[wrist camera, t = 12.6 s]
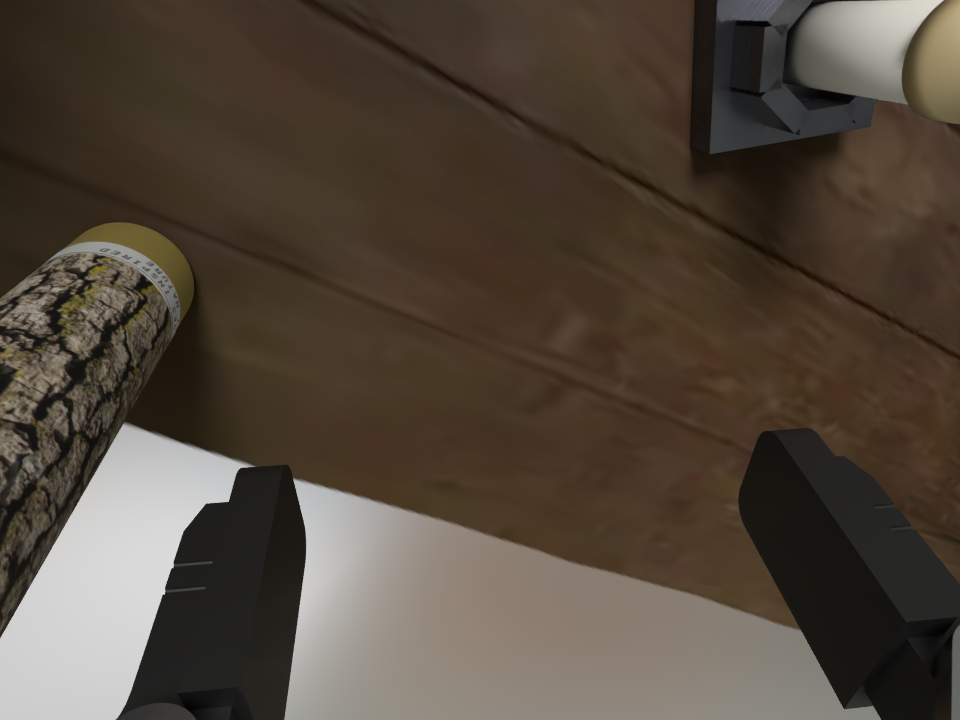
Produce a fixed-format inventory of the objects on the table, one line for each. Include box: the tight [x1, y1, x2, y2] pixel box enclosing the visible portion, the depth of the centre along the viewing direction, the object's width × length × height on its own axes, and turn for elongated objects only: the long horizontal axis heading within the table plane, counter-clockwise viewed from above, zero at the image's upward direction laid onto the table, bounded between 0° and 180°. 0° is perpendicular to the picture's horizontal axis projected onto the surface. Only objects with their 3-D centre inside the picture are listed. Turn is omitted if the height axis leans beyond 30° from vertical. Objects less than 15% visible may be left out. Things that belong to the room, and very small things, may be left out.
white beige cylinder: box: [782, 0, 960, 124], centre depth 30 cm, size 5×5×12 cm
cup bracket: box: [690, 0, 880, 154], centre depth 35 cm, size 10×10×6 cm
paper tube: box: [0, 222, 194, 637], centre depth 27 cm, size 7×7×25 cm
